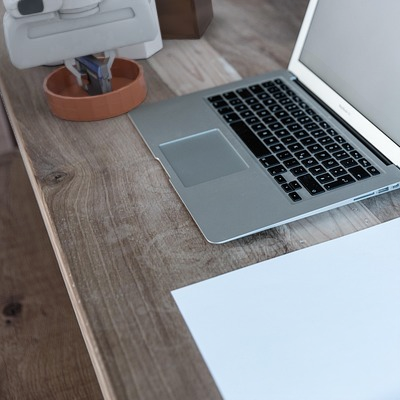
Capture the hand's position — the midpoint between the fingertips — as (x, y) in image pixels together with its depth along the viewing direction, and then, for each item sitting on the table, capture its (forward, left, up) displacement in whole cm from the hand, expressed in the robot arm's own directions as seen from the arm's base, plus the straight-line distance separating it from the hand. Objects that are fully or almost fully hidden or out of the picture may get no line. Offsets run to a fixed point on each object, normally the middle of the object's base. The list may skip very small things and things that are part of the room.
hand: (94, 81), depth 102 cm
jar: (+10, +14, -3) cm, 18 cm away
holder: (+18, +21, -3) cm, 28 cm away
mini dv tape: (0, 0, -2) cm, 2 cm away
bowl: (0, 0, -3) cm, 3 cm away
